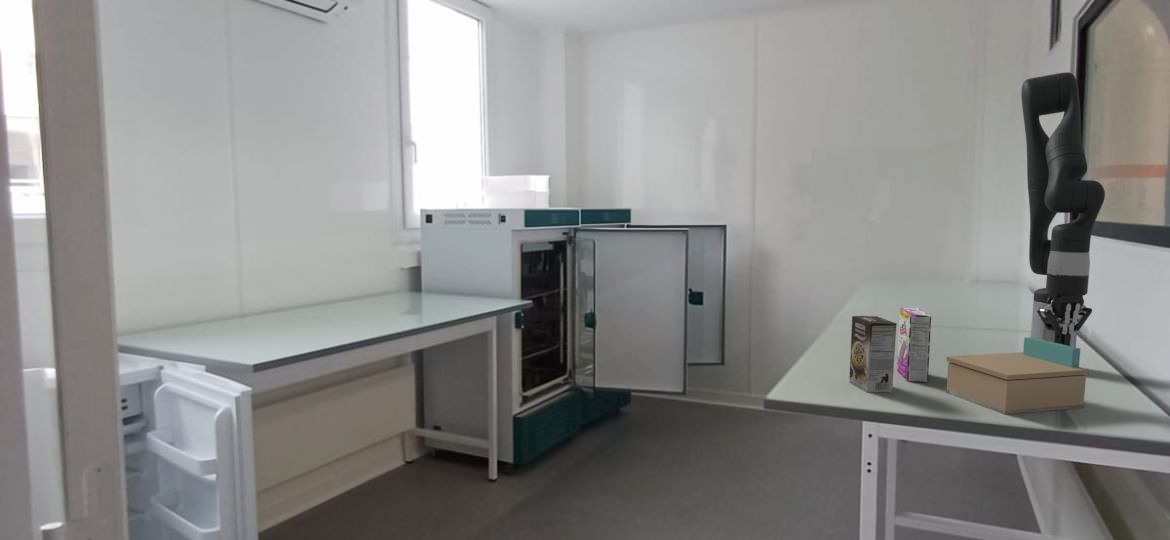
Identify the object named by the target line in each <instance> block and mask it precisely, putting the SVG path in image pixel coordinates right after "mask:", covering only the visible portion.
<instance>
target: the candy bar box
mask: <svg viewBox="0 0 1170 540" xmlns="http://www.w3.org/2000/svg"><path fill="white" fill-rule="evenodd" d="M931 325H932V315H930V314H929V313H927V312H925V311H923V309H921V308H918V307H899V309H898V328H897V329H898V333H897V335H898V336H897V337H898V339H897V355H896V360H897V361H896V371H897V372H898V373H899V374H900V375H901V376H902V377H903V378H904V379H905V380H906V381H907V382H910V383H912V382H913V383H928V382H929V371H930V370H929V368H930V350H931V349H930V347H931V331H932V330H931Z"/></svg>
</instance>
